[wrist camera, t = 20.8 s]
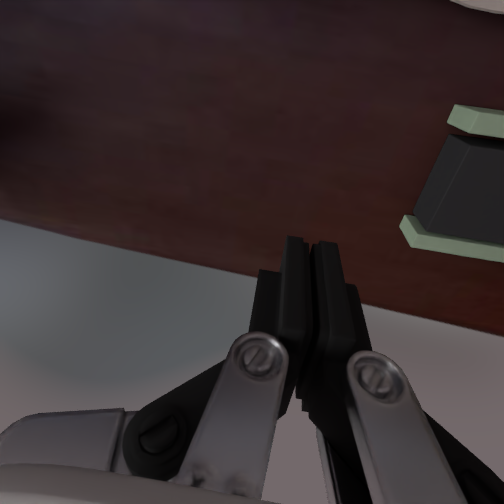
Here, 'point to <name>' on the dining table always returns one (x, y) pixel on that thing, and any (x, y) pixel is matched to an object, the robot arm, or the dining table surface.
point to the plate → (483, 5)
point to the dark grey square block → (465, 190)
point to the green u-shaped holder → (417, 237)
